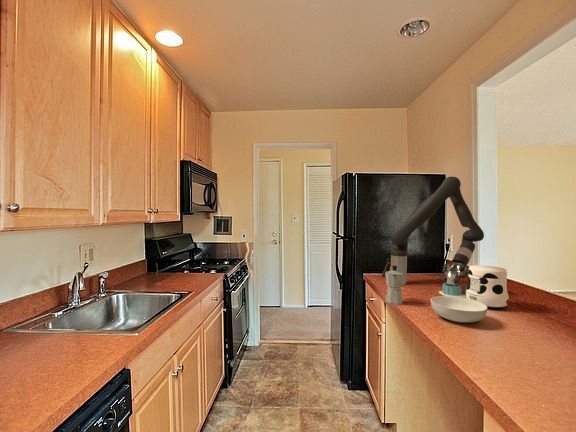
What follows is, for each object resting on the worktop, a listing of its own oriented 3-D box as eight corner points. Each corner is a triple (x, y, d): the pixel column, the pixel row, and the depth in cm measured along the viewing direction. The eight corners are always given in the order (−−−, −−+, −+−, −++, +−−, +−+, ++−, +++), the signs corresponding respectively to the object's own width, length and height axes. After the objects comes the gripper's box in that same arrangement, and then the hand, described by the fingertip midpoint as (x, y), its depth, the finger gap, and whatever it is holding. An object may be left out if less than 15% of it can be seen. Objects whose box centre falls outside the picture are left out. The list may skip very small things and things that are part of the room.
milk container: (508, 304, 154) (508, 267, 154) (509, 313, 140) (510, 273, 140) (467, 298, 164) (468, 263, 163) (464, 306, 149) (465, 268, 149)
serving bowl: (457, 330, 120) (457, 312, 119) (419, 313, 140) (420, 297, 140) (500, 325, 125) (500, 308, 125) (458, 309, 145) (458, 294, 145)
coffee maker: (403, 306, 148) (404, 268, 148) (384, 304, 151) (384, 267, 151) (403, 298, 163) (403, 263, 162) (385, 296, 165) (385, 262, 165)
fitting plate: (448, 298, 163) (448, 287, 163) (438, 292, 174) (439, 282, 174) (482, 299, 163) (482, 288, 163) (470, 293, 174) (470, 283, 174)
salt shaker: (449, 290, 167) (449, 271, 166) (444, 287, 172) (444, 269, 171) (458, 290, 167) (459, 271, 166) (453, 288, 172) (454, 269, 171)
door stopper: (395, 276, 218) (396, 258, 218) (396, 277, 212) (396, 260, 212) (382, 275, 221) (382, 257, 221) (382, 276, 215) (382, 259, 215)
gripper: (446, 251, 179) (434, 275, 172) (473, 254, 167) (460, 280, 160) (451, 260, 182) (439, 283, 175) (478, 263, 170) (466, 289, 163)
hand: (449, 281), depth 168 cm, fingers closed on salt shaker, 5 cm apart
